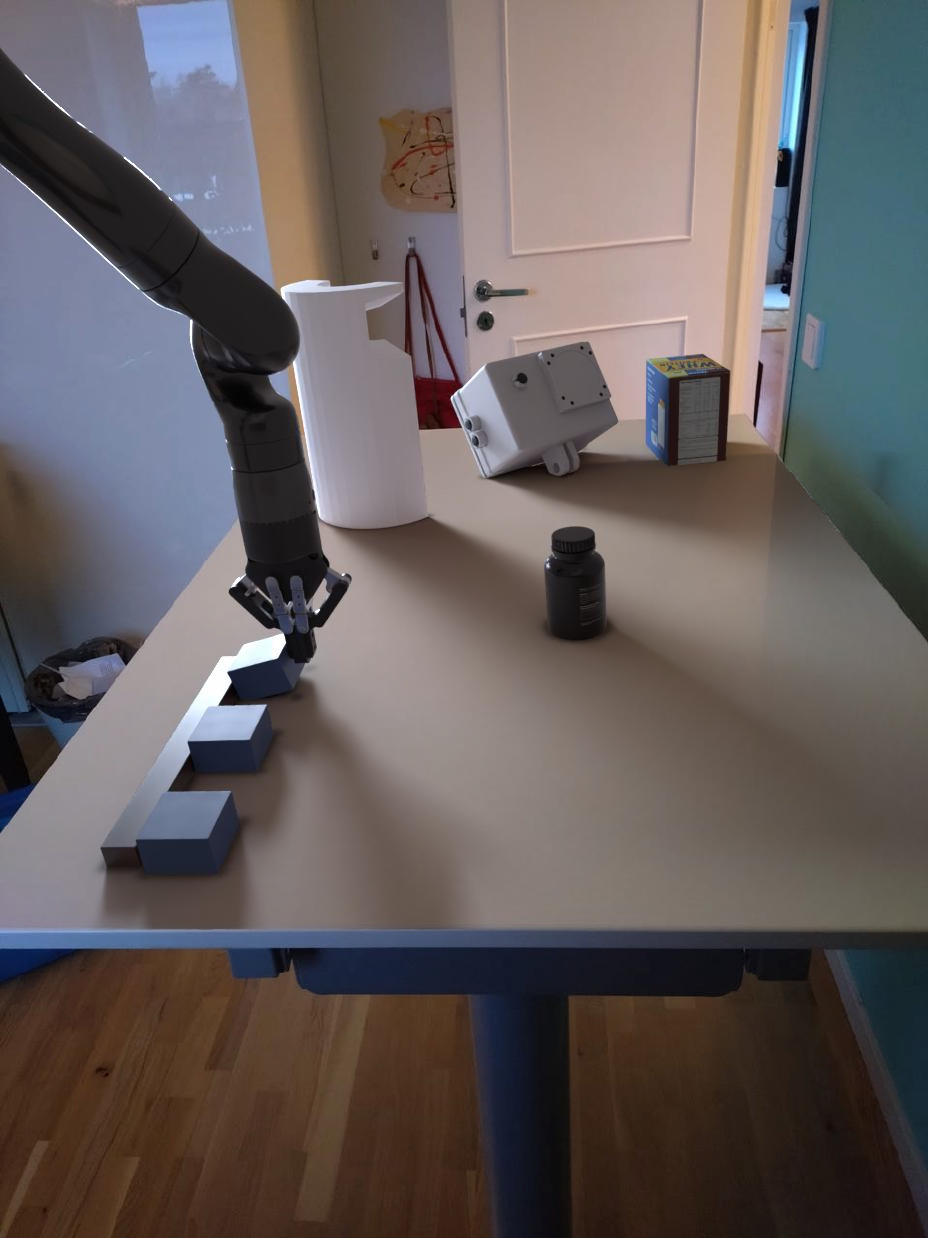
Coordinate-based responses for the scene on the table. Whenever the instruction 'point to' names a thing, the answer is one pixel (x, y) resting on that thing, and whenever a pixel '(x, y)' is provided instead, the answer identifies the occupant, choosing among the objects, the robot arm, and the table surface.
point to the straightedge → (166, 771)
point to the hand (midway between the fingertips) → (304, 659)
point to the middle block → (231, 739)
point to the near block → (188, 832)
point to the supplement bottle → (575, 585)
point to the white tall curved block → (356, 408)
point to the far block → (264, 669)
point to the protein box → (687, 409)
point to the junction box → (535, 410)
